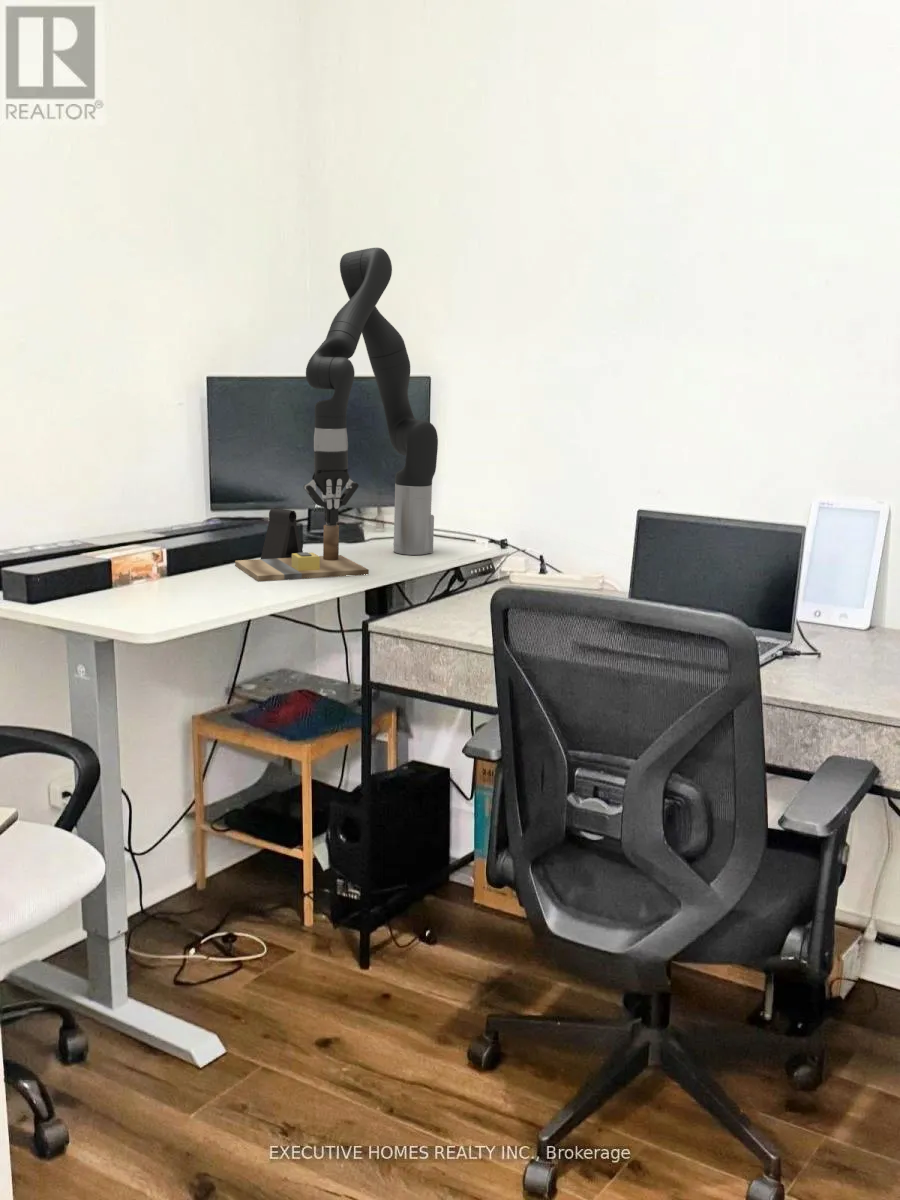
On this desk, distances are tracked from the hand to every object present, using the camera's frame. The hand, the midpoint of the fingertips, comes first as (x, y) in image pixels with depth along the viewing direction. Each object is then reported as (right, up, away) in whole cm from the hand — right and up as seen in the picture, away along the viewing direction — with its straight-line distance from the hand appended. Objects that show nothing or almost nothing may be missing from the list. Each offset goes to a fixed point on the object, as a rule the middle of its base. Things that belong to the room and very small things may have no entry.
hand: (331, 524), depth 264 cm
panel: (-7, -10, +4) cm, 13 cm away
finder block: (-6, -10, 0) cm, 11 cm away
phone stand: (-13, -7, +16) cm, 22 cm away
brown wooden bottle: (-1, -7, +12) cm, 14 cm away
